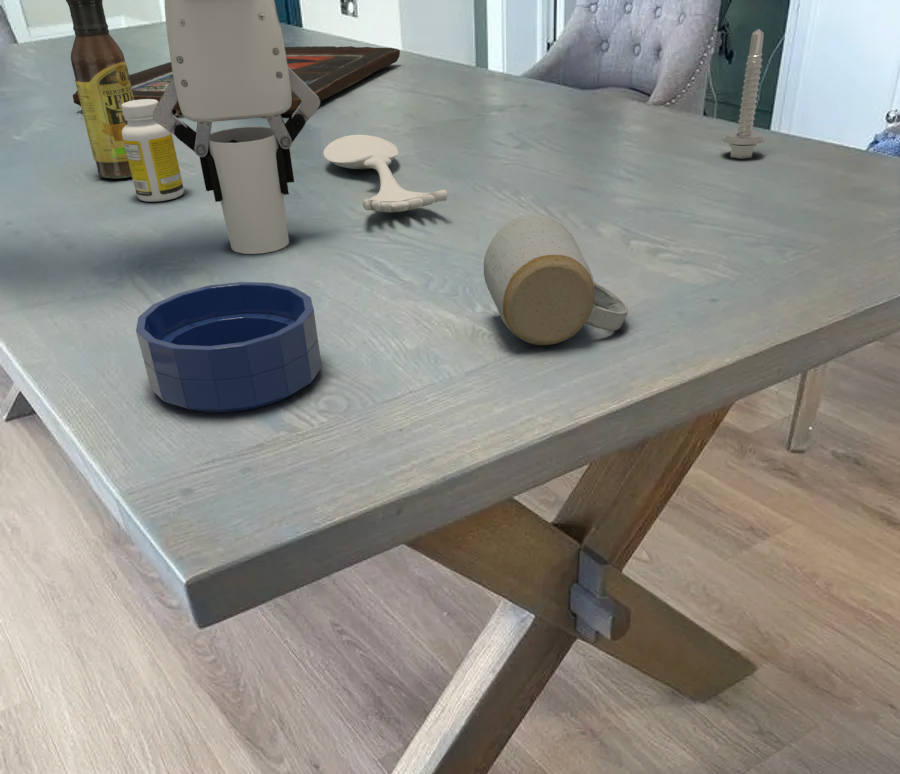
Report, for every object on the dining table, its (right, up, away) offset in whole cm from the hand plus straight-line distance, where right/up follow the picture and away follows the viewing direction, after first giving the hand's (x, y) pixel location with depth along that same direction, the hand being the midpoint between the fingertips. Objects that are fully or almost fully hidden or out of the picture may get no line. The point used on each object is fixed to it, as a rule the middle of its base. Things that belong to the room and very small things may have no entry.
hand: (251, 192), depth 90 cm
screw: (+54, +13, +21) cm, 59 cm away
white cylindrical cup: (0, -4, +3) cm, 5 cm away
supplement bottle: (-15, +8, +19) cm, 25 cm away
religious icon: (-15, +48, +70) cm, 86 cm away
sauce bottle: (-22, +14, +27) cm, 38 cm away
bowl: (+4, -23, -21) cm, 32 cm away
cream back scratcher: (+11, +8, +17) cm, 22 cm away
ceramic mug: (+27, -18, -16) cm, 37 cm away
